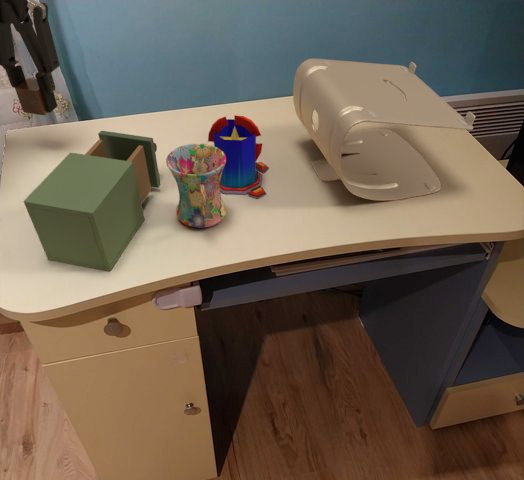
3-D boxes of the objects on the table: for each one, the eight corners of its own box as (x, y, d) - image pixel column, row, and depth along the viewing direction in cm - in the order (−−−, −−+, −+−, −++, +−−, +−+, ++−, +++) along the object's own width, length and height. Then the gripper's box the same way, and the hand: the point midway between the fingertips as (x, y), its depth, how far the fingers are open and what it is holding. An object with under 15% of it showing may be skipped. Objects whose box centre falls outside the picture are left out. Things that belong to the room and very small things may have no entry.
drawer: (122, 164, 93) (112, 118, 87) (169, 171, 92) (162, 125, 85) (80, 216, 83) (65, 169, 76) (132, 225, 82) (121, 178, 75)
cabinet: (87, 209, 86) (70, 152, 78) (144, 219, 84) (132, 161, 76) (47, 259, 78) (23, 201, 69) (110, 271, 76) (92, 213, 68)
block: (23, 112, 92) (15, 87, 89) (36, 102, 95) (28, 77, 92) (44, 115, 92) (37, 91, 88) (56, 105, 94) (49, 81, 91)
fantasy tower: (200, 196, 89) (194, 131, 79) (208, 161, 96) (204, 98, 87) (266, 199, 88) (267, 134, 79) (269, 163, 96) (271, 100, 86)
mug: (172, 203, 87) (163, 146, 79) (224, 197, 89) (220, 140, 80) (179, 246, 80) (171, 188, 72) (236, 239, 81) (234, 181, 73)
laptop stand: (288, 140, 101) (293, 58, 89) (393, 125, 106) (411, 45, 94) (334, 212, 86) (347, 125, 74) (454, 192, 90) (485, 106, 78)
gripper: (54, -50, 76) (91, 104, 94) (-46, -60, 79) (9, 92, 97) (28, -37, 72) (72, 123, 90) (-77, -48, 74) (-14, 109, 92)
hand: (39, 107), depth 93 cm, fingers closed on block, 4 cm apart
